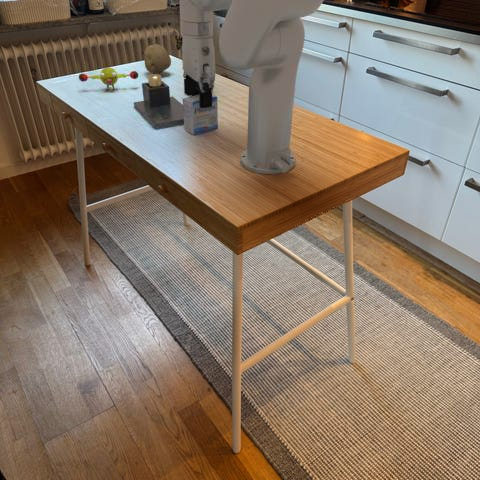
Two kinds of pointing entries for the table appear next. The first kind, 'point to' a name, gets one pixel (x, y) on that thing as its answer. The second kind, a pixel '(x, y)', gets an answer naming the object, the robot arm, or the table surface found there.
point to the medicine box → (199, 115)
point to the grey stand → (160, 107)
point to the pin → (154, 81)
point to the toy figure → (108, 77)
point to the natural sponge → (156, 59)
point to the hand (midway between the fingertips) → (197, 100)
